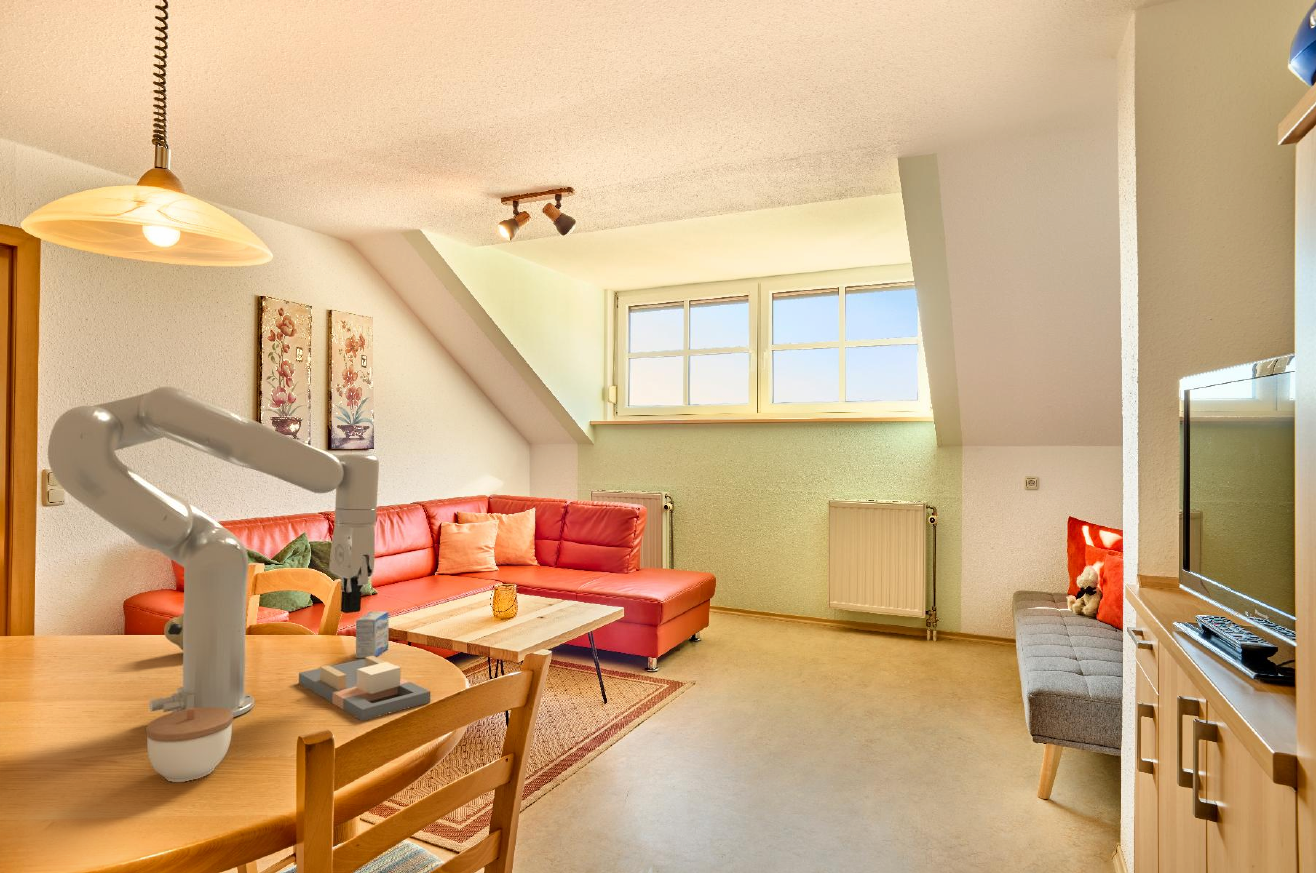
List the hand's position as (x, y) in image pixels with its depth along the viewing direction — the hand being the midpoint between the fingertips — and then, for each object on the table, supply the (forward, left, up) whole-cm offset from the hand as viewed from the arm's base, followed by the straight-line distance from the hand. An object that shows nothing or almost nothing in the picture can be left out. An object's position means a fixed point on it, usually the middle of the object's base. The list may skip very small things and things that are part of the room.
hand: (350, 611), depth 145 cm
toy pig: (-14, +45, -15) cm, 49 cm away
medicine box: (+14, +19, -15) cm, 28 cm away
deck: (+1, -4, -15) cm, 16 cm away
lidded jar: (-32, -19, -15) cm, 40 cm away
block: (+2, -9, -13) cm, 16 cm away
